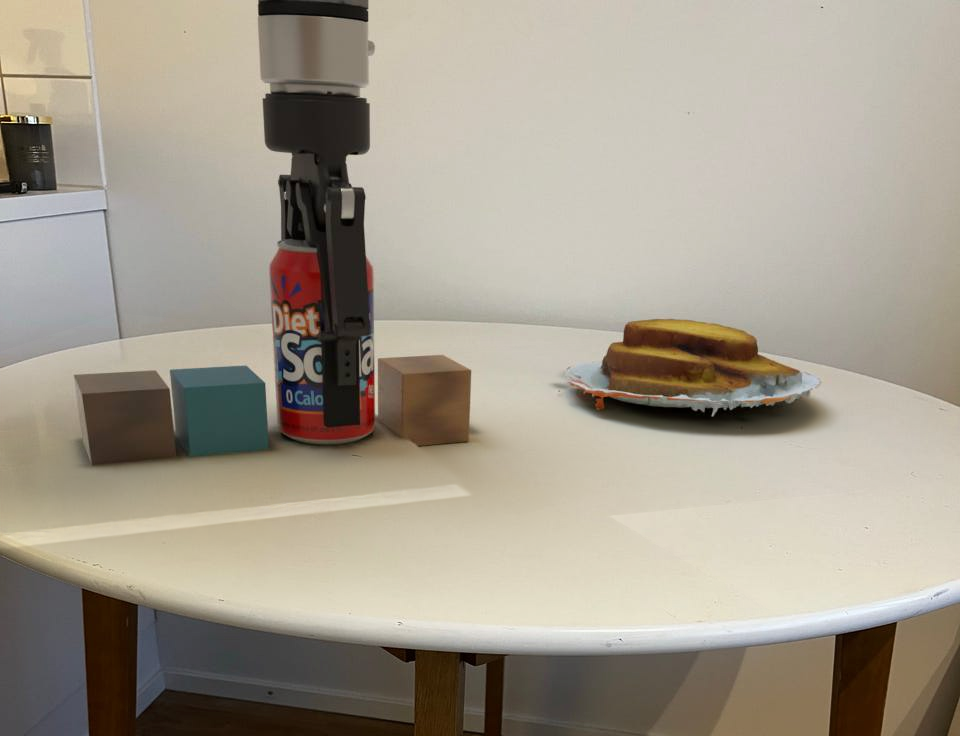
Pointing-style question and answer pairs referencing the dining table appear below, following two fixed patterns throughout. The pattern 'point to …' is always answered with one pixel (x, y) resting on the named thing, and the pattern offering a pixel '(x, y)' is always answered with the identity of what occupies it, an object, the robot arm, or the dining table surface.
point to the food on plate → (689, 369)
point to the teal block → (219, 410)
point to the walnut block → (125, 416)
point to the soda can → (311, 349)
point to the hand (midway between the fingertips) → (325, 410)
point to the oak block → (425, 398)
